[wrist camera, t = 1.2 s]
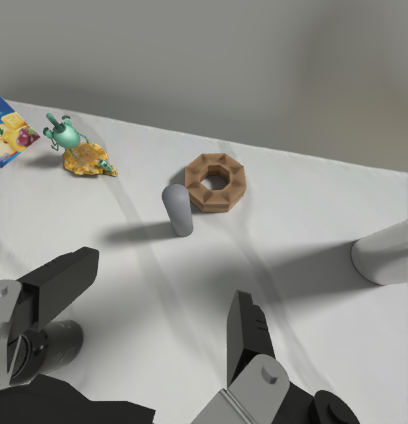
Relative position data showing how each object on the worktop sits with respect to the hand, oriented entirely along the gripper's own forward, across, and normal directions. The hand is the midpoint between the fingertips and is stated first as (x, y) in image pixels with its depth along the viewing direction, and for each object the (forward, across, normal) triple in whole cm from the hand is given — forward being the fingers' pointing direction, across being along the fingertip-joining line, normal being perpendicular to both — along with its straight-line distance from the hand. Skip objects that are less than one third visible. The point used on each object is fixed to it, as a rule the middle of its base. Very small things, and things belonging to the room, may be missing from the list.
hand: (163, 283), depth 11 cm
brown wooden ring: (+37, 0, -1) cm, 37 cm away
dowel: (+30, +4, +8) cm, 31 cm away
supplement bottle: (+15, +17, +28) cm, 36 cm away
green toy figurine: (+38, +32, +1) cm, 50 cm away
